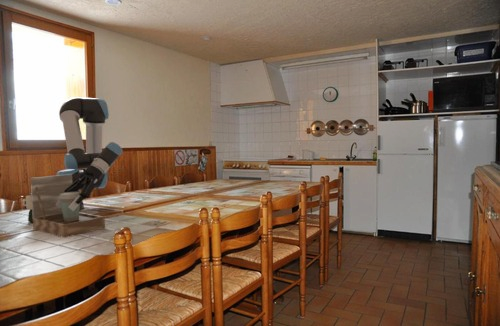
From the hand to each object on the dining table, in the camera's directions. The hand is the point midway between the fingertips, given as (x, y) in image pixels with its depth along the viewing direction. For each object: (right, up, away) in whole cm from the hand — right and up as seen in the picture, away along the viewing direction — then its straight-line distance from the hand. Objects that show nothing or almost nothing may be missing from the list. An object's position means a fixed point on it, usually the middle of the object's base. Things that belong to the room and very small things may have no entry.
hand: (64, 207), depth 147 cm
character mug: (-24, -9, +18) cm, 32 cm away
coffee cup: (+2, -6, +3) cm, 7 cm away
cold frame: (0, -10, +4) cm, 10 cm away
